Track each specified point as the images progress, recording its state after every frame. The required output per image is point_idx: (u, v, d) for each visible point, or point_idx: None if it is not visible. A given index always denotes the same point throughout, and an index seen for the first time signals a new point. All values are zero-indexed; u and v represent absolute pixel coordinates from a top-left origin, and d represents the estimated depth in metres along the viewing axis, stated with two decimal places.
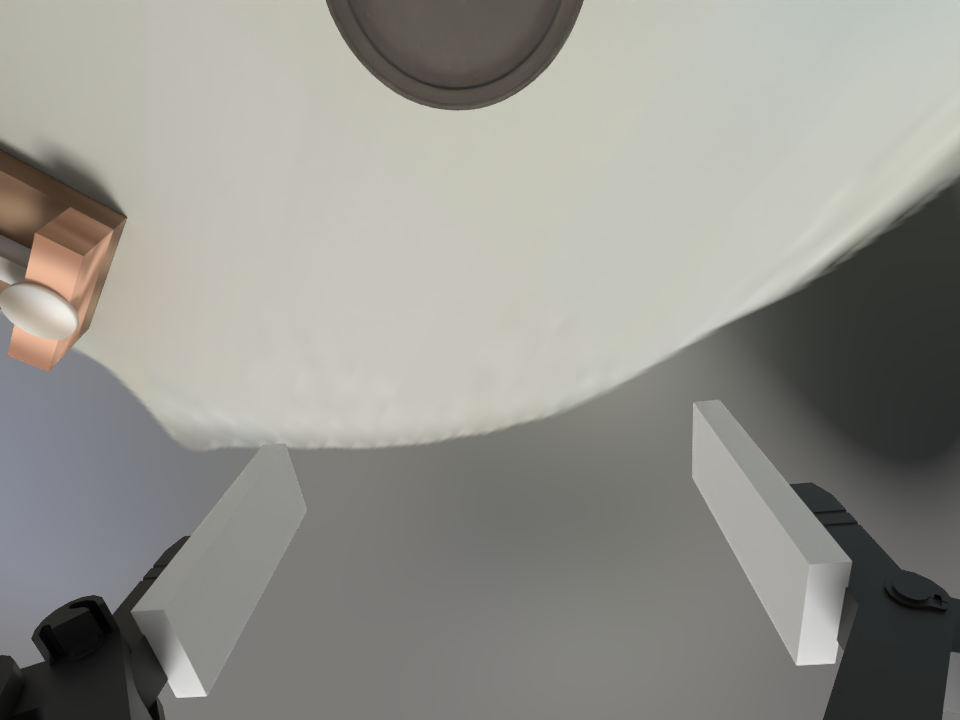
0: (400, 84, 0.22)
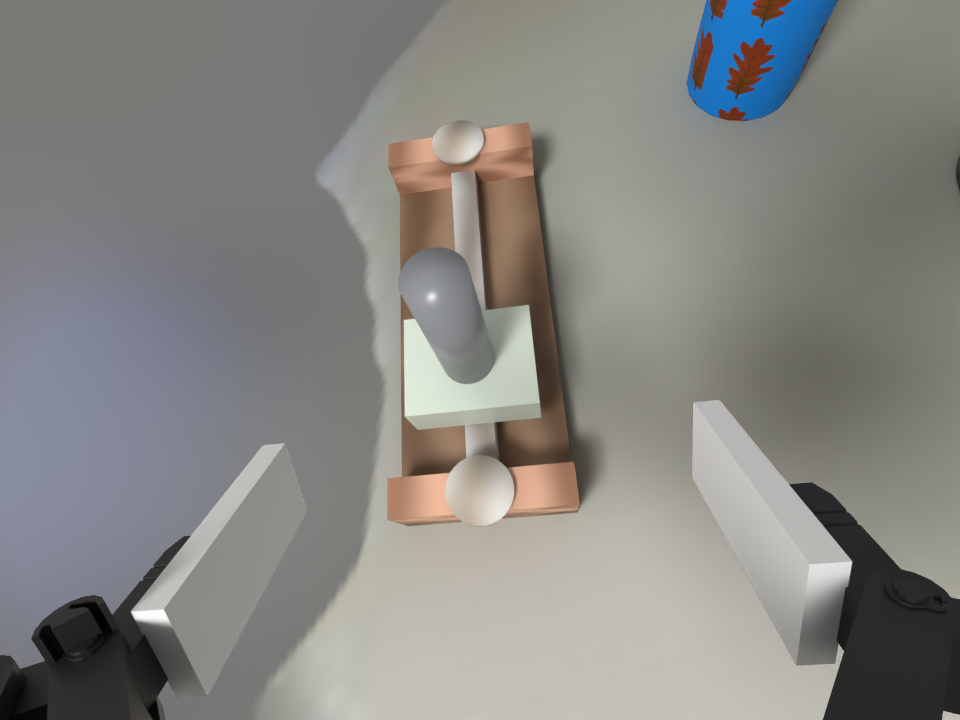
0: None
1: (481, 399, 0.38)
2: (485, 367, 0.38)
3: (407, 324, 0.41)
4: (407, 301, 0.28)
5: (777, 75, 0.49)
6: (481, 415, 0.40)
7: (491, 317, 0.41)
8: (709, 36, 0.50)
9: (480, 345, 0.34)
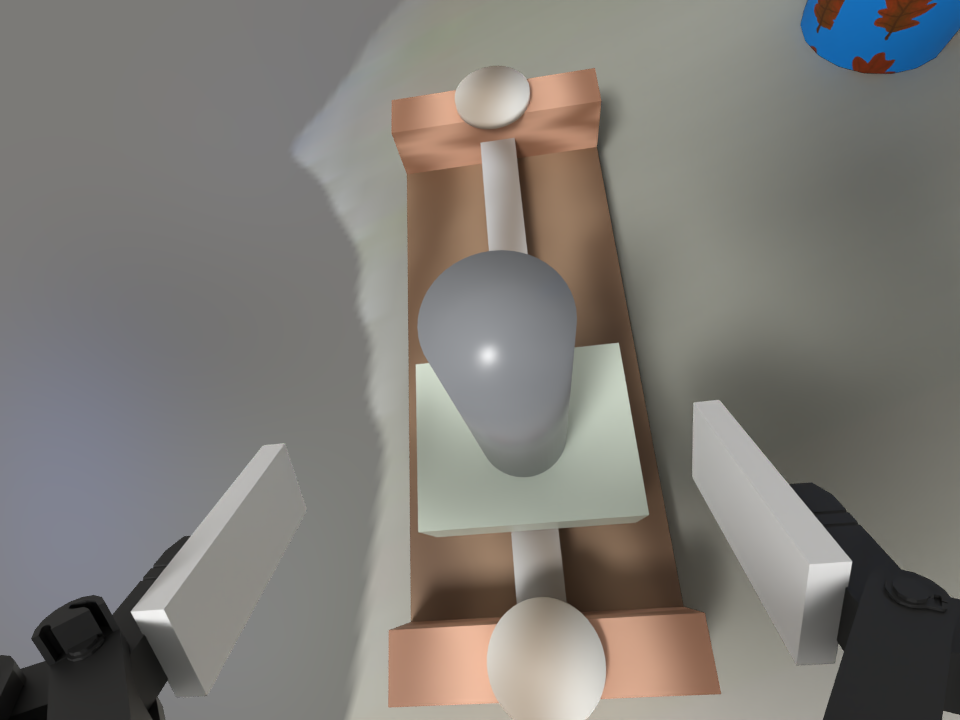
0: None
1: (547, 505, 0.23)
2: (557, 453, 0.22)
3: (421, 372, 0.26)
4: (438, 370, 0.13)
5: (959, 0, 0.34)
6: (543, 525, 0.24)
7: None
8: None
9: (560, 429, 0.19)
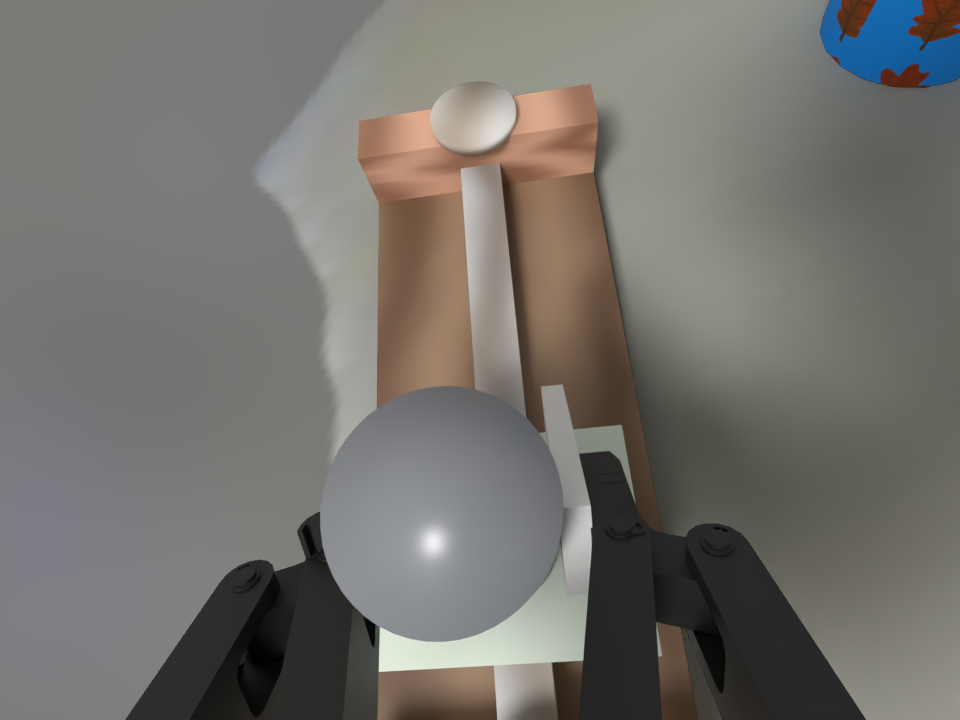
0: None
1: (534, 639, 0.18)
2: None
3: None
4: (346, 591, 0.08)
5: None
6: None
7: None
8: None
9: None
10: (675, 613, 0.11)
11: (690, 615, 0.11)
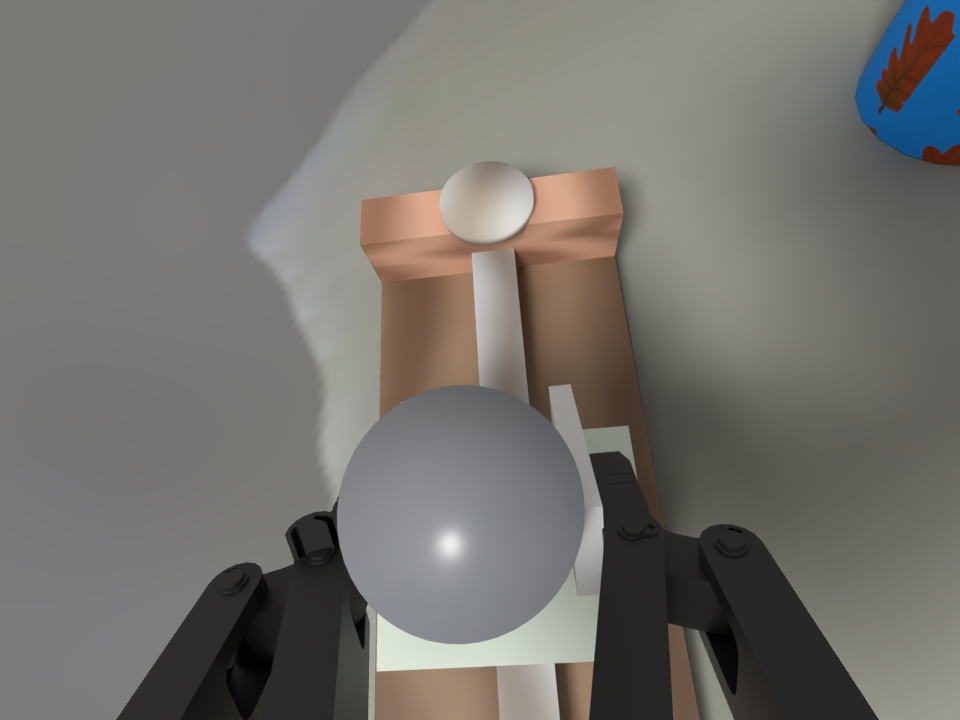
0: None
1: (539, 640, 0.18)
2: None
3: None
4: (364, 592, 0.08)
5: None
6: None
7: None
8: (946, 18, 0.27)
9: None
10: (688, 614, 0.11)
11: (703, 616, 0.11)
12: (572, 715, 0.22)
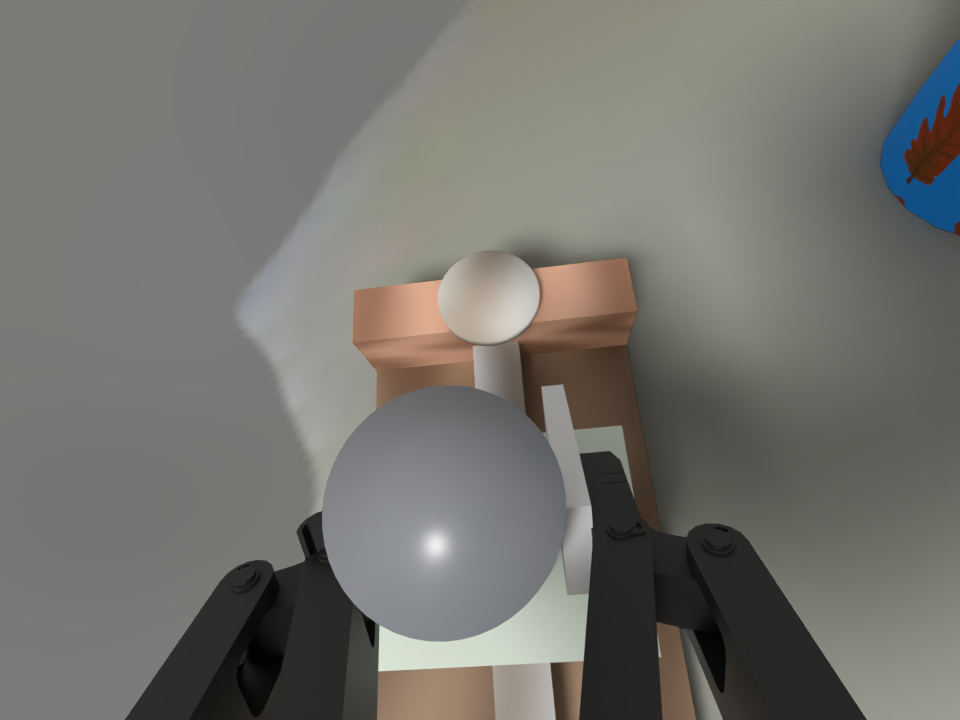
0: None
1: (532, 640, 0.18)
2: None
3: None
4: (348, 590, 0.08)
5: None
6: None
7: None
8: None
9: None
10: (676, 612, 0.11)
11: (690, 615, 0.11)
12: None
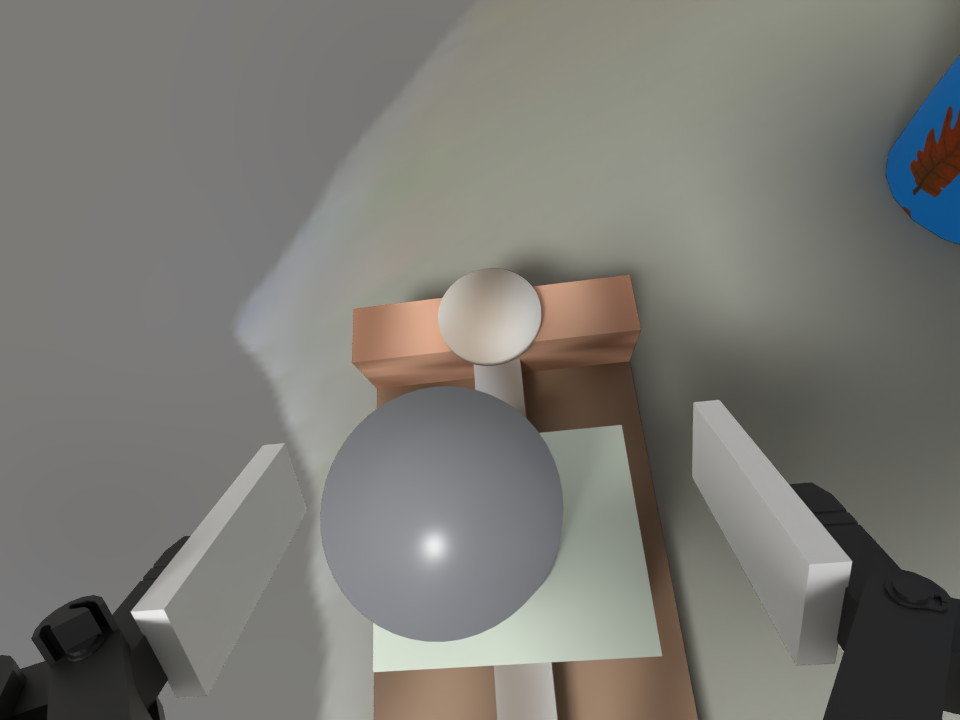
0: None
1: (533, 639, 0.18)
2: (545, 580, 0.17)
3: None
4: (346, 591, 0.08)
5: None
6: None
7: None
8: None
9: None
10: None
11: None
12: None
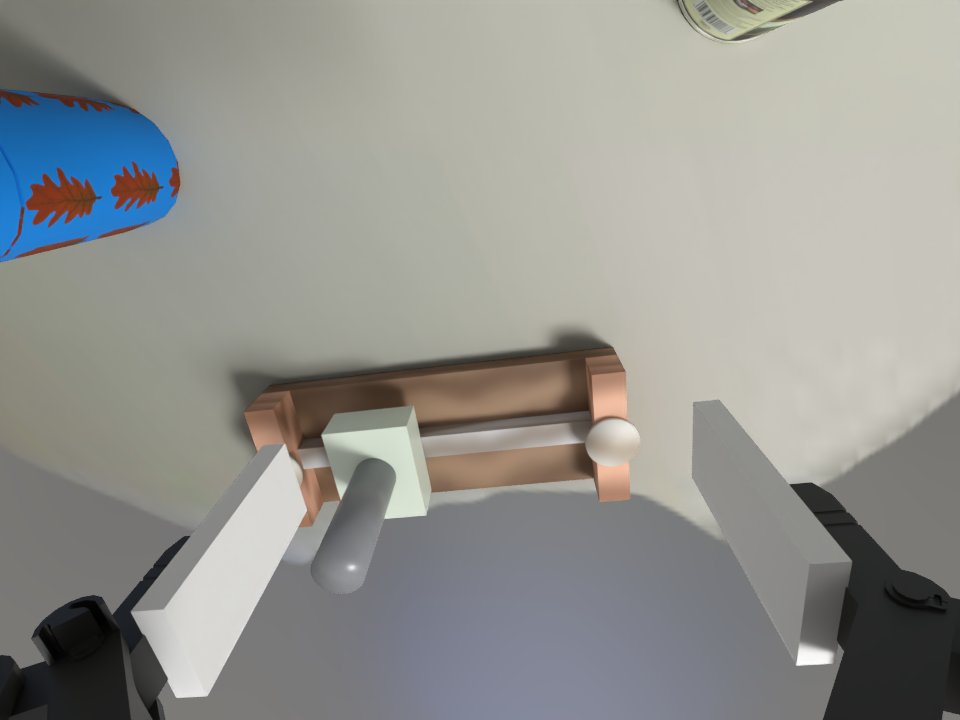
0: None
1: (407, 466, 0.49)
2: (382, 471, 0.47)
3: None
4: (358, 587, 0.39)
5: (135, 150, 0.42)
6: (418, 457, 0.50)
7: (336, 461, 0.49)
8: (101, 235, 0.42)
9: (372, 495, 0.44)
10: None
11: None
12: (515, 413, 0.53)
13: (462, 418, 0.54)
